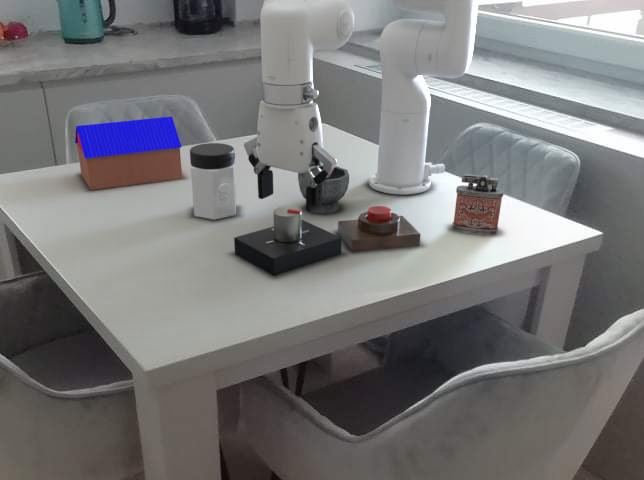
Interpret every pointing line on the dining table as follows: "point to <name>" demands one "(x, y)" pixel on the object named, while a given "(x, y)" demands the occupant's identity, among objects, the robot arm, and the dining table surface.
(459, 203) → the lighter
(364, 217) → the button block
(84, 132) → the house
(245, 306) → the dining table surface
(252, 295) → the dining table surface
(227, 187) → the jar
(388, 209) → the button
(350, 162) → the dining table surface
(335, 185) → the mortar and pestle
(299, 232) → the dial knob
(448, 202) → the dining table surface
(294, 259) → the control panel
